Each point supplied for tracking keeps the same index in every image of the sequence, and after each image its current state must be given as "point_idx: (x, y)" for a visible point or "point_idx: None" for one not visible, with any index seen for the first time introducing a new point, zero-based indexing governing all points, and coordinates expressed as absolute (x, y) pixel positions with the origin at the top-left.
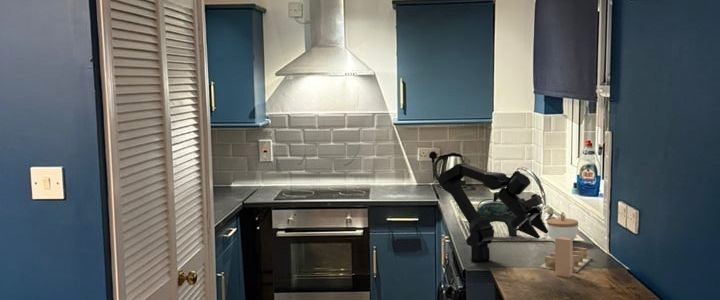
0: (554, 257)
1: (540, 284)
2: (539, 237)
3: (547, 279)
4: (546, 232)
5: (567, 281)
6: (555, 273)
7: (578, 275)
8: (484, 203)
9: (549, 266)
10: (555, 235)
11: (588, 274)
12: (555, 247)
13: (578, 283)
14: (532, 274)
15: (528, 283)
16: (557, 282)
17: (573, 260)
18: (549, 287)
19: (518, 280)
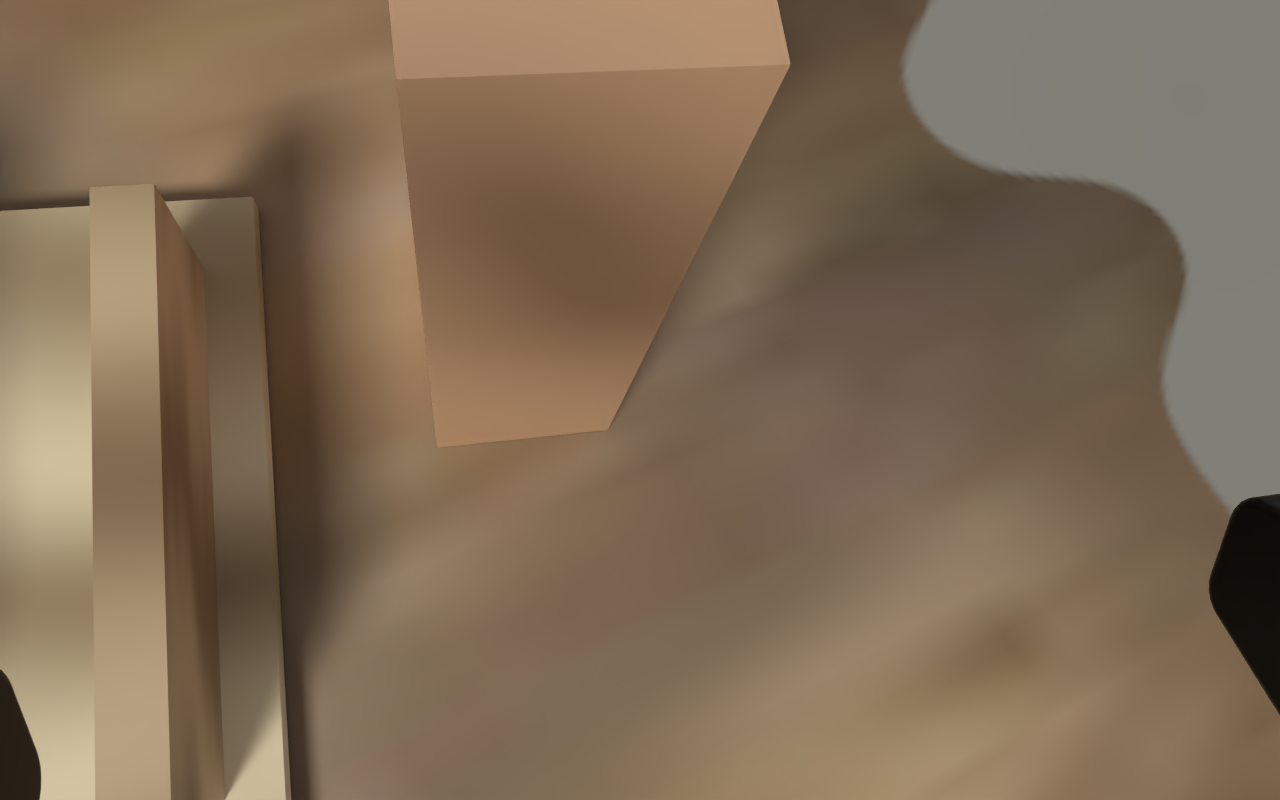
0: (135, 589)
1: (1154, 422)
2: (1250, 514)
3: (881, 441)
4: (19, 747)
5: (790, 174)
6: (610, 418)
7: (401, 142)
8: None
9: (219, 704)
10: None
11: (262, 40)
12: (708, 212)
13: None
14: (784, 774)
15: None
16: (920, 267)
17: (125, 194)
18: (1180, 272)
19: (1218, 793)
